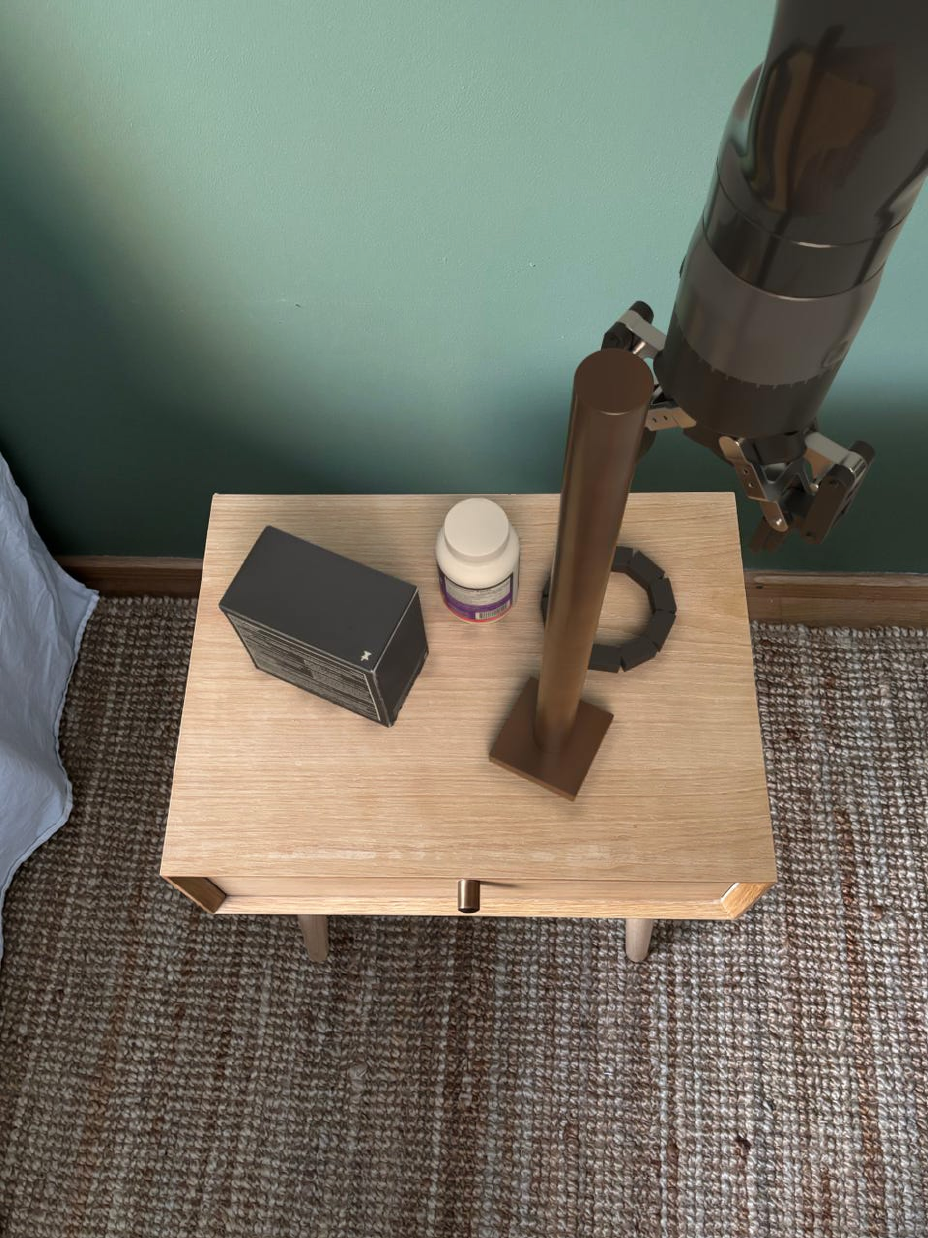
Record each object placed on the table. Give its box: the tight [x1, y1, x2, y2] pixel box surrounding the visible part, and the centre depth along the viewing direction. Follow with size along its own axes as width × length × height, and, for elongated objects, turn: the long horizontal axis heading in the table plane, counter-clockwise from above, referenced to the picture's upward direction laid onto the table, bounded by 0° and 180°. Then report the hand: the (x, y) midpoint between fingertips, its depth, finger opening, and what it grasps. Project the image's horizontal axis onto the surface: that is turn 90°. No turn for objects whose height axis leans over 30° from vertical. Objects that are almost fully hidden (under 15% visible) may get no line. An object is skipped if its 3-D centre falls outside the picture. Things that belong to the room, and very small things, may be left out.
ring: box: [540, 545, 678, 674], centre depth 70 cm, size 9×9×1 cm
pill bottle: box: [434, 497, 521, 626], centre depth 67 cm, size 5×5×10 cm
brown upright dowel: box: [489, 348, 655, 803], centre depth 49 cm, size 6×6×40 cm
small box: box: [217, 524, 430, 729], centre depth 65 cm, size 11×6×10 cm, turn 65°
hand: (697, 496), depth 58 cm, fingers open, 8 cm apart
